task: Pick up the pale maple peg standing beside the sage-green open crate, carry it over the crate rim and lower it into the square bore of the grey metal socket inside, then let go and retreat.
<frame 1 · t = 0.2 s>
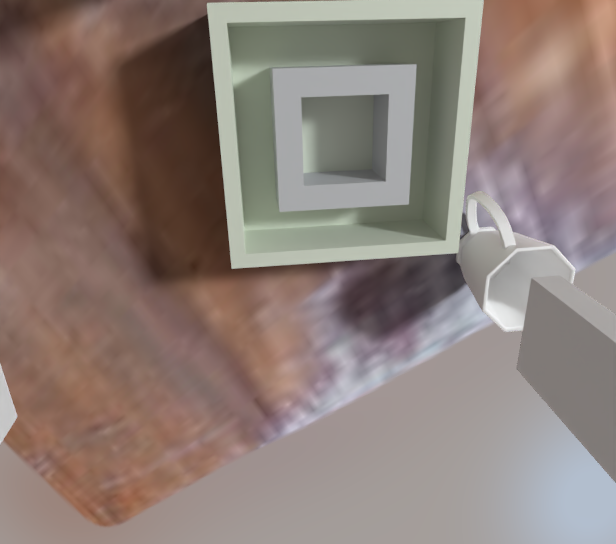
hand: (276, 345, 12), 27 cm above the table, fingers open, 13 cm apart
crate: (332, 130, 37), on the table
cup: (474, 234, 42), on the table
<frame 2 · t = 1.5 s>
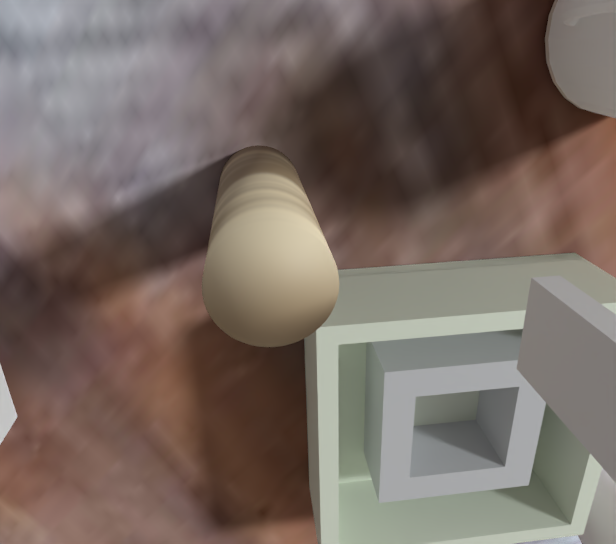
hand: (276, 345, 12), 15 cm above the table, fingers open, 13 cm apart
crate: (431, 378, 32), on the table
mug: (599, 23, 24), on the table
cup: (579, 462, 37), on the table
peg: (259, 185, 26), on the table
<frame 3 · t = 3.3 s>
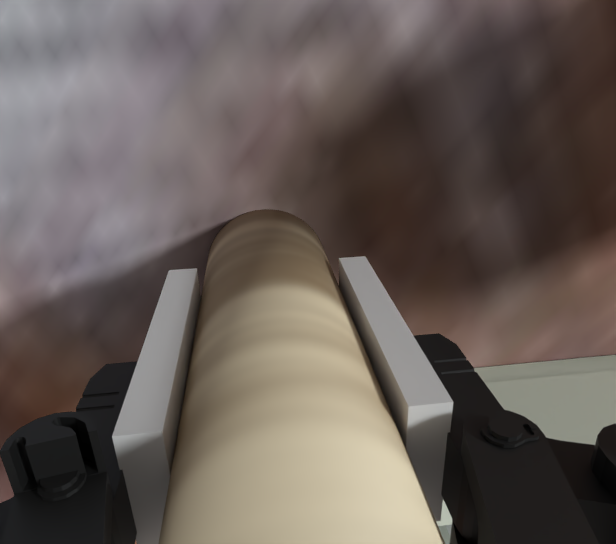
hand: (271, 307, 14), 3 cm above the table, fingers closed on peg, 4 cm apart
crate: (499, 508, 23), on the table
peg: (267, 266, 17), on the table, touching gripper
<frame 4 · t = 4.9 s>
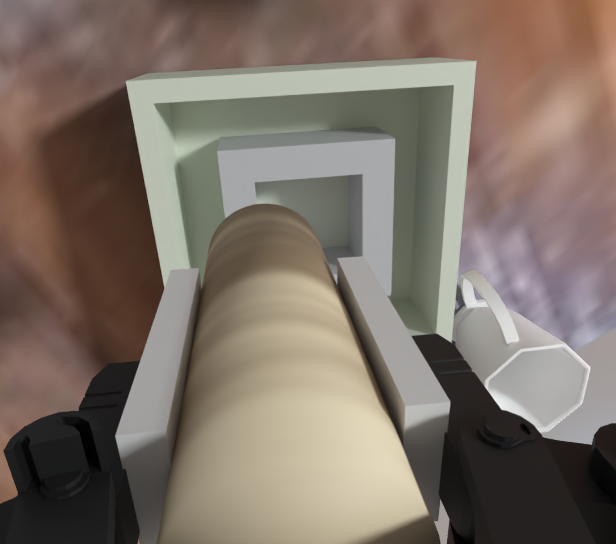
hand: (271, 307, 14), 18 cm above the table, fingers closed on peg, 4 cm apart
crate: (301, 202, 32), on the table
cup: (470, 307, 37), on the table
peg: (265, 258, 18), point 14 cm above the table, touching gripper
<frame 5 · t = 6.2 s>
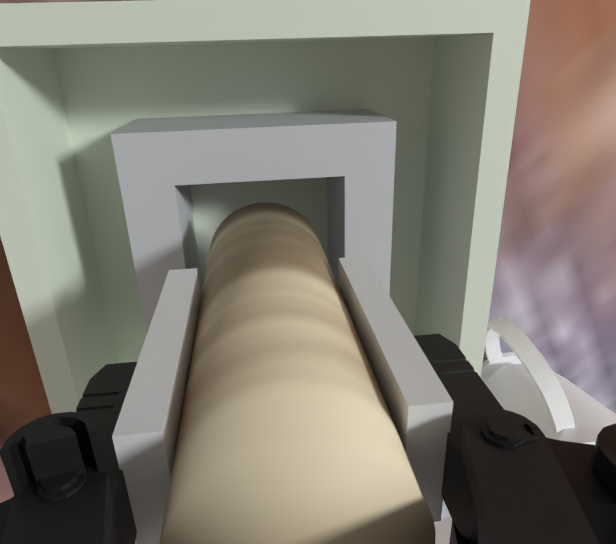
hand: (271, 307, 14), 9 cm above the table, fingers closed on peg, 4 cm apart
crate: (261, 217, 22), on the table
cup: (494, 361, 27), on the table
peg: (265, 256, 18), point 4 cm above the table, touching gripper
when the fingers open (6 cm above the table, at t = 7.0 s): peg stays where it is, resting on crate.
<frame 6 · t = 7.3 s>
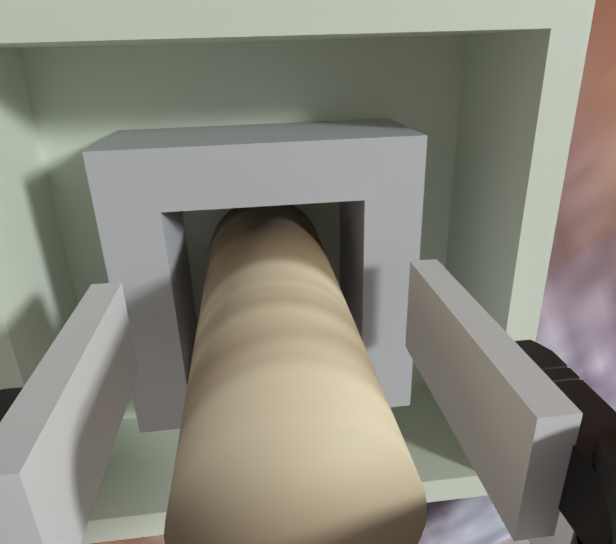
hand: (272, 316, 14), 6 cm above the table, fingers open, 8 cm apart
crate: (264, 240, 19), on the table
cup: (522, 396, 24), on the table
peg: (265, 250, 19), point 1 cm above the table, touching crate
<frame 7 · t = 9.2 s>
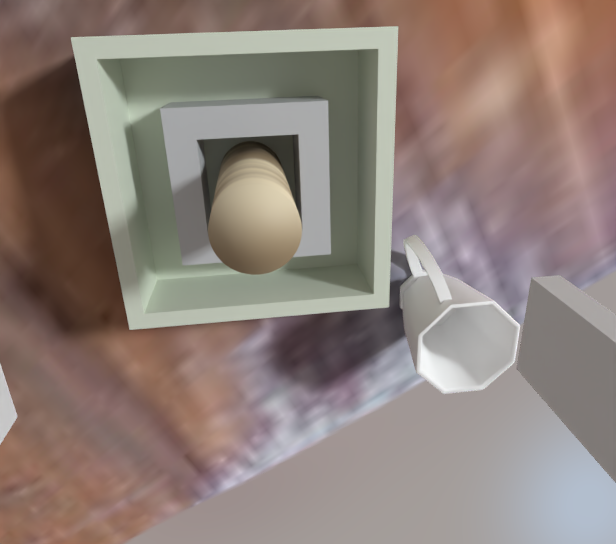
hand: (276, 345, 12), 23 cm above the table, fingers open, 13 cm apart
crate: (250, 169, 33), on the table
cup: (418, 277, 38), on the table
peg: (251, 172, 32), point 1 cm above the table, touching crate
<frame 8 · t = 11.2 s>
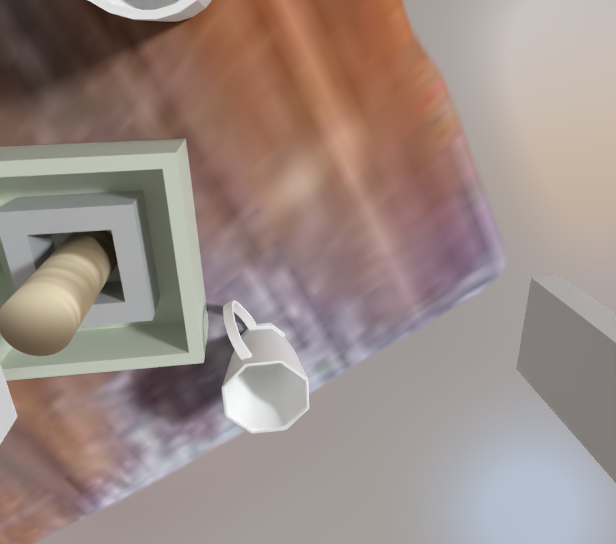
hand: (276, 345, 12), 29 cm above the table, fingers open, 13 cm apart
crate: (96, 245, 40), on the table
cup: (255, 329, 45), on the table
peg: (93, 250, 39), point 1 cm above the table, touching crate
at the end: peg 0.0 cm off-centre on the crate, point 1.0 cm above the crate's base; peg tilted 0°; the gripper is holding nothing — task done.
